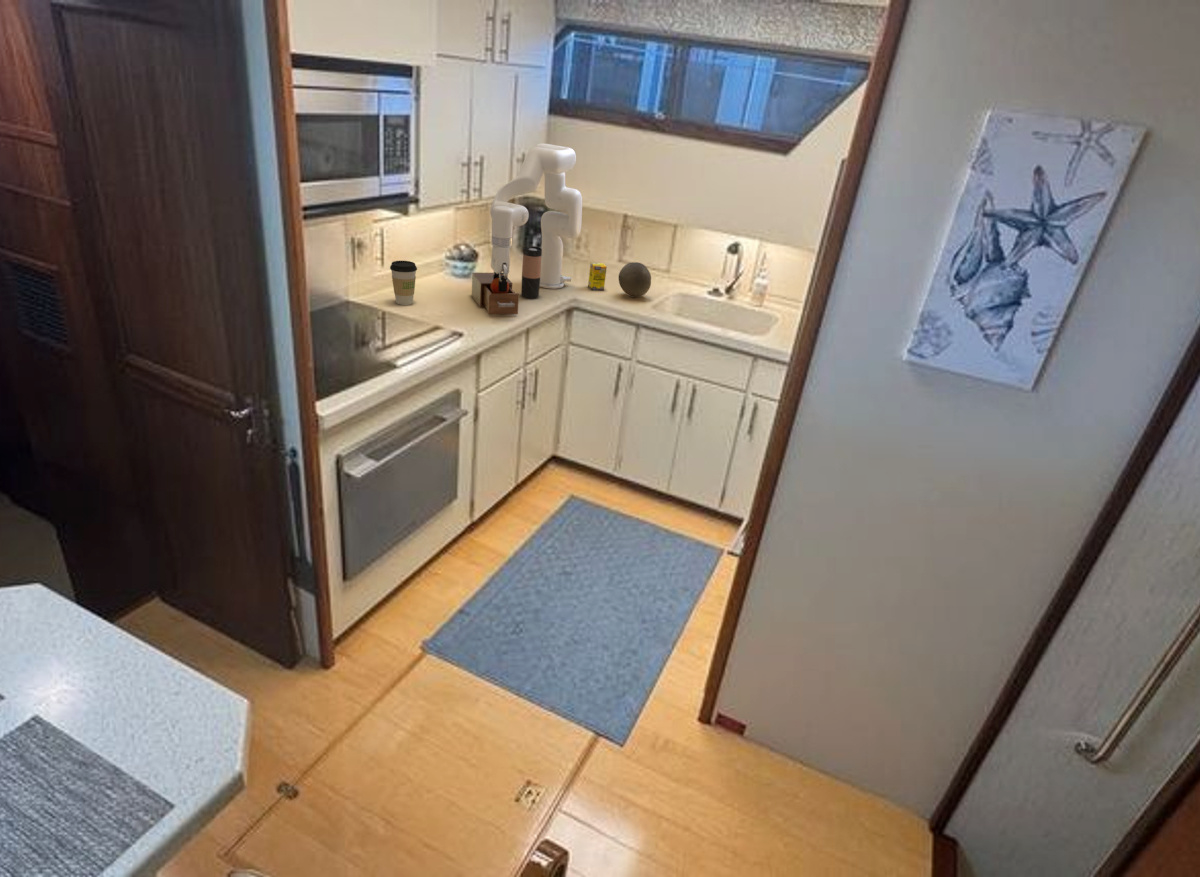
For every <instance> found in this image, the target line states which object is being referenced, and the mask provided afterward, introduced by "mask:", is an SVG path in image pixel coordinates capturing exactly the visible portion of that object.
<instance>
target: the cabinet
mask: <svg viewBox="0 0 1200 877" xmlns="http://www.w3.org/2000/svg"><path fill="white" fill-rule="evenodd" d="M471 274H472V275H471V297H472V299H473V300H474V301H475V302H476V304H477V305H478V307H479V308H486V307H485V306H484V304H483V303H482V292H483V285H491V283H492V281H493V276H494V272H471ZM502 276H503V275H502ZM507 282H508V284H509V286H510V288H511V289H512V290H513V281H511V280H510V279H509V277H508V278H507Z"/></svg>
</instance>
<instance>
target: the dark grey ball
mask: <svg viewBox="0 0 1200 877" xmlns="http://www.w3.org/2000/svg"><path fill="white" fill-rule="evenodd" d="M618 284H619V286H620V288H621V289H622V291H623V292H624V293H625V294H626V295H628V296H629V297H632V298H639V297H640V298H641V297H642V296H644V295H646V294H647V293H649V290H650V289H651V286H652V274H651V272H650V270H649V269H648V267H647V266H646V265H645V264H643V263H641V262H627V263H626V264H625V265H624V266H623V267H622V268H621V269H620V271H619V272H618Z"/></svg>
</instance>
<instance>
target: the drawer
mask: <svg viewBox="0 0 1200 877" xmlns="http://www.w3.org/2000/svg"><path fill="white" fill-rule="evenodd" d="M519 298H520V294H519V293H518V292H515V291H514V290H513V288H512V289H511V288H510V286H509V291H508V293H493V292H492V291H491V285H483V292H482V303H483V304H484V306H485V307H484V308H485V309H486V310H487V314H488V315H519V314H518V313H519Z"/></svg>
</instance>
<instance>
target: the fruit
mask: <svg viewBox="0 0 1200 877" xmlns="http://www.w3.org/2000/svg"><path fill="white" fill-rule="evenodd" d="M499 281H500V279H499V278H495V279H494V280H493V281H492V283H491V291H492V292H493V293H508V291H509V284H508V282H507V291H506V292H499V291H498V286H499Z"/></svg>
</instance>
